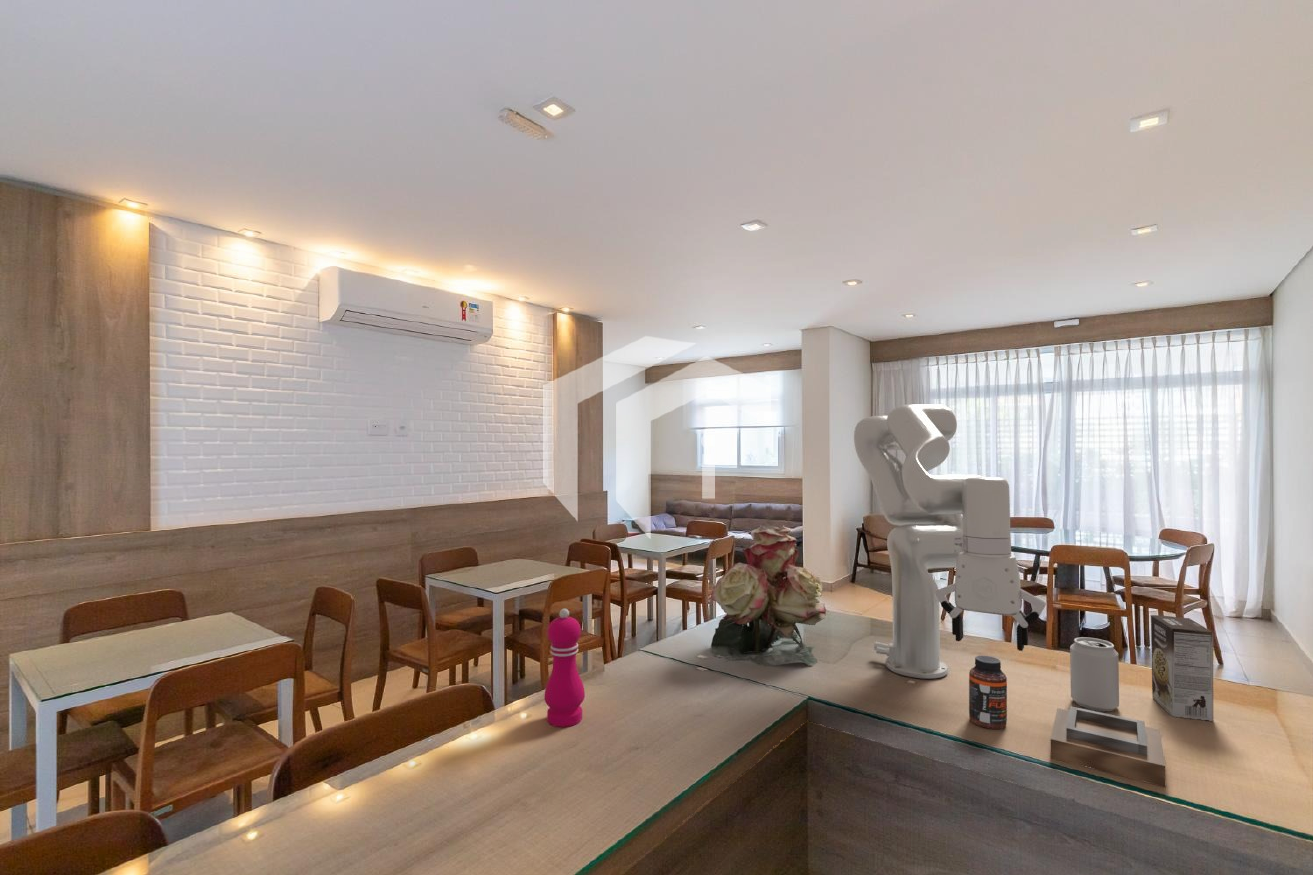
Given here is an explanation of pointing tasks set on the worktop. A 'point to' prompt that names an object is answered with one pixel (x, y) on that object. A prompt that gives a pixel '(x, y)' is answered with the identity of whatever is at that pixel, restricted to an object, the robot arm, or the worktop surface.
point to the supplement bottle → (988, 693)
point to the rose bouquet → (767, 602)
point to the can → (1094, 674)
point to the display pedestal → (1108, 744)
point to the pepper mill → (564, 673)
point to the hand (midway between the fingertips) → (989, 643)
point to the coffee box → (1182, 667)
